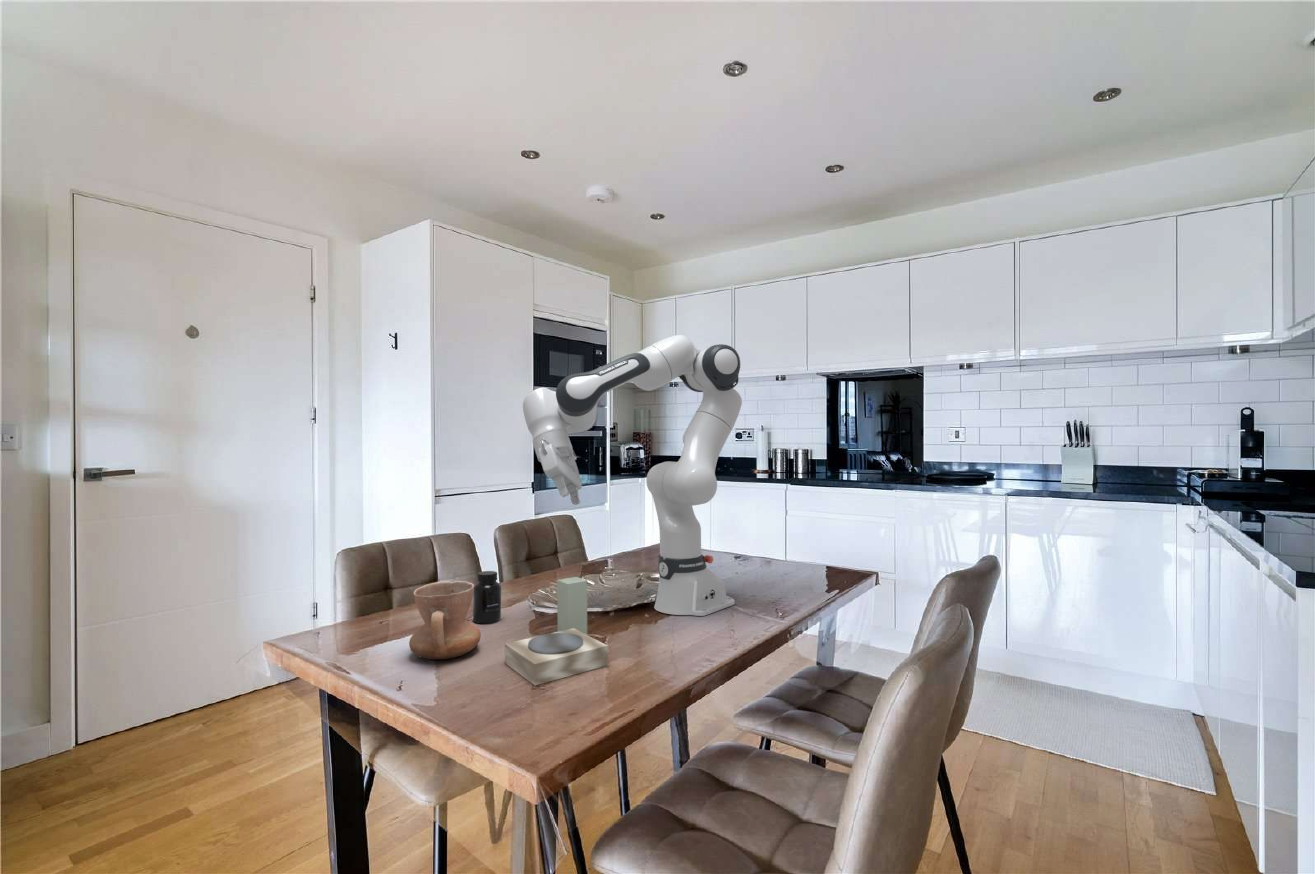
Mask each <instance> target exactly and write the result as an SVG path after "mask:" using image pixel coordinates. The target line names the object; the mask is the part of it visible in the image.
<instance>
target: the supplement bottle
mask: <svg viewBox="0 0 1315 874" xmlns="http://www.w3.org/2000/svg"><path fill="white" fill-rule="evenodd" d="M476 575H477V576H476V577H477V578H476V581H477V583H476V584H474V592H473V598H472V621H473V623H476V624H481V625H485V624H486V625H487V624H493V623H497V622H498V621H500V620H501V617H502V585H501V584H500V583H499V582H498V572H497V571H495V570H486V571H480V572H477V574H476Z"/></svg>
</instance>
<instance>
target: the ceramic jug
mask: <svg viewBox="0 0 1315 874" xmlns="http://www.w3.org/2000/svg"><path fill="white" fill-rule="evenodd" d="M474 586H475V584H473V583H472V582H470V581H465V580H454V581H453V582H452V581H450V580H445V581H443V580H442V581H438V582H437V581H435V582H432V583H428V584H424V585H423V586H420V587H418V588H416V589H415V590H414V591H413V598H414V602H415V605H416V607H417V610H418V612H419V615H420V616H421V619H422V621H423V622H424V624H423V625H422V626H421V627H420V628H418V629H417V630H415V632H414V633H413V634H411V636H410V638H409V642H408V644H409V649H410V651H411V652H412V653H413V654H414V655H415V656H417V657H419V658H423V659H428V660H448V659H453V658H456V657H461V656H463V655H466V654H467V653H469V652H471V651H472V650H474V649H475V648H476V647H477V646H478V644H479V642H480V639H481V637H482V635H481V631H480V628H479V626H478V625H476V624H475V623H474V622H472V621H470V620H468V619H466V618H467V615H468V612H469V610H470V607H471V604H472V602H473V592H474Z"/></svg>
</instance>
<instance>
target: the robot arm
mask: <svg viewBox="0 0 1315 874" xmlns="http://www.w3.org/2000/svg"><path fill="white" fill-rule="evenodd" d="M740 371H741V359H740V355H739V353H738V351H737V350H736V349H735V347H732V346H730V345H728V344H722V343H721V344H714V345H711V346H709V347H707V348H705V349H702V350H700V349H697V347H695V345H694V343H693V341H692V340H691V339H690V338H689V337H687V336H686V335H683V334H674V335H672V336H671V335H670V336H669V337H666V338H663V339H660V340H659V341H656V342H655V343H652V344H651V345H649V346H647V347H645V348H643V349H642V350H639V351H637V352H633V353H630V354H626V355H624V356H622V357H618V358H617V359H615V360H613V361H611V362H610V361H609V363H606V364H603V365H601V366H600V367H597V368H595V369H593V370H590V371H589V370H588V371H586V372H585V371H584V372H578V373H573V374H570V375H567V376H565V377H564V378H563V379H561V380H560V382H559V383H558V385H557V387H556V390H551V389H550V388H547V387H539V388H536V389H534V390H532V391H530V392H529V393H528V394H527V395H526V396H525V397H524V399H523V401H522V411H523V415H524V416H523V417H524V421H525V423H526V427H527V429H528V431H529V432H530V434H531V437H532V445H533V448H534V451H535V455H536V457H537V461H538V462H539V463H541V466H542V470H543V473H544V474H545V475H546V476H547V477H548V478H549V479H550V480H551V481H553V483H554V485H555V486H556V488H557V490H558V493H559V495H560V497H562V498H565V497H567V496H570V498H569V499H570V501H571V504H572V505H574V506H577V505H580V503H581V500H580V496H579V495H580V494H579V490H581V489H582V488H583V486H582V485H583V484H582V480H581V479H582V478H581V476H580V471H579V468H578V466H577V462H576V460H577V455H576V453H575V450H574V449H573V445H572V443H571V440H570V437H569V435H574V434H581V433H585V432H588V431H589V430H590V429H592V428H593V427H594V425H595V423H596V421H597V412H598V403H599V401H600V399H601V398H602V397H603V396H604V395H605V394H607V393H609V392H610V391H613V390H615V389H617V388H618V387H621V386H623V385H625V384H628V383H632V382H633V384H634V385H635V386H636V387H638V389H640V390H643V391H647V392H650V391H653V390H656V389H659V388H661V387H663V386H666V385H667V384H668V383H670V382H672V381H674V380H675V379H677V378H679V379H680V380H681V381H682V383H683V384H684V385H685V386H686V388H688V389H689V390H691V391H692V392H696V393H702V399H701V403H700V405H699V406H698V408H697V410H696V411H695V413H694V414H693V417H692V419H691V420H690V422H689V423H688V426H687V427H686V429H685V431H684V432H683V435H682V442H683V448H682V450H681V451H682V453H681V455H680V458H679V459H678V461H671V460H670V461H663V462H661V463H657V464H655V465H654V466H652V467H651V468H650V469H649V471H648V472H647V475H646V479H645V480H646V483H645V484H646V486H647V489H648V491H649V492H650V494H651V497H652V499H653V503H654V506H655V507H654V508H655V511H656V517H657V520H658V527H659V555H658V561H657V562H658V563H657V564H658V566H657V567H658V574H659V576H658V579H659V580H658V585H657V587H658V588H657V593H656V598H655V604H654V607H653V608H654V609H655V611H657V612H660V613H663V614H668V615H674V616H698V617H699V616H700V617H703V616H708V615H710V614H712V613H715V612H718V611H720V610H723V609H726V608H729V607H731V606H733V605H735V604H736V602H735V599H734V598H732V597H730V596H729V595H727V589H726V585H725V582H724V581H723V580H722V578H720V577H719V576H718V575H716V574H715V573H714V572H713V571H711V570H710V569H709V568H707V564H706V563H708V564H712V563H713V562H714V557H713V556H712V555H708V554H706V555H703V554H702V527H701V524H700V522H699V520H698V518H697V517H696V515H695V512H694V511H695V510H694V509H693V506H700V505H703V504H707V503H709V502H710V501H711V500H712V499H713V498H714V496H715V495H716V493H717V490H718V481H717V477H716V467H717V462H718V459H719V457H720V454H721V451H722V450H723V448H724V445H725V444H726V442H727V440H728V438H729V436H730V434H731V432H732V430H733V428H734V427H735V425H736V422H737V420H738V417H739V414H740V411H741V408H742V405H743V404H742V403H743V401H742V397H741V395H740V393H739V392H738V390H736V389H734V388H735V387H737V385H738V384H739V374H740Z"/></svg>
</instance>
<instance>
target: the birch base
mask: <svg viewBox="0 0 1315 874" xmlns="http://www.w3.org/2000/svg"><path fill="white" fill-rule="evenodd" d="M608 647H609V646H608V644H606V643H603V642H602V641H600V640H598V639H596V638H594V637H593V636H592V637H591V636H590V635H588V634H587V635H586V634H584V633H582V632H580V631H578V630H576V629H574V628H572V629H567V630H563V631H559V632H558V631H555V632H551V633H550V632H549V633H544V634H541V635H538V636H537V635H536V636H531V637H528V638H525V639H519V640H515V641H511V642H506V643H504V663H505V664H506V665H507V667H509V668H511V669H512V670H513V671H514V672H516V673H518V675H520V676H522V677H523V678H524V679H525V680H527V681H528V682H530V683H531V684H532V685H534V686H538V685H543V684H545V683H548V682H552V681H556V680H560V679H563V678H567V677H570V676H575V675H578V674H581V673H586V672H589V671H591V670H596V669H600V668H603V667H607V666H608V665H609V663H608V661H609V660H608V659H609V657H608V655H609V654H608V652H609V648H608Z"/></svg>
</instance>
